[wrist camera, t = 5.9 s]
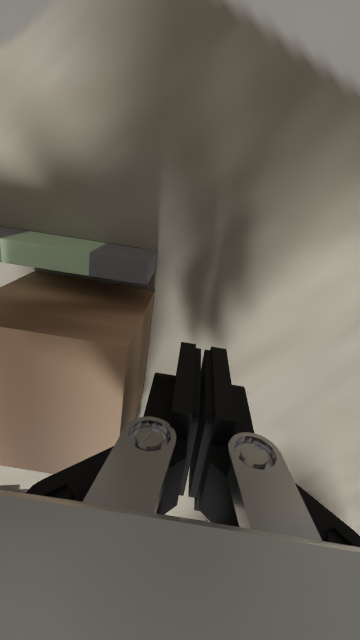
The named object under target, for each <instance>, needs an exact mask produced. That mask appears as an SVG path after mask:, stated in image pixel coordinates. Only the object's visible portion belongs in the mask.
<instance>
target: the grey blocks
mask: <svg viewBox="0 0 360 640" xmlns="http://www.w3.org/2000/svg"><path fill="white" fill-rule="evenodd" d="M157 253H158V251H154V250H148V249H141V248H135V247H129V246H122V245H116V244H109V243H103V242H97V241H90V240H84V239H77V238H71V237H65V236H58V235H52V234H45V233H39V232H33V231H26V230H20V229H13V228H7V227H1V226H0V262H4V263H10V264H16V265H23V266H29V267H35V268H42V269H48V270H54V271H61V272H67V273H74V274H80V275H86V276H93V277H99V278H105V279H112V280H118V281H124V282H131V283H137V284H144V285H147V284H148V283H149V281H150V279H151V278H152V276H153V274H154V273H155V270H156V261H157ZM139 411H140V405H139V407H138V410H137V414H136V417H135V419H136V418H139Z"/></svg>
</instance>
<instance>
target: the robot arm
mask: <svg viewBox="0 0 360 640" xmlns="http://www.w3.org/2000/svg"><path fill="white" fill-rule="evenodd" d="M189 466H190V473H189V497H194V498H195V506H194V510H197V511H201V512H202V513H203V514H204V515H205V516H206V518H207V519H208V522H205V521H199V520H193V519H187V518H181V517H175V516H169V515H164V514H165V513H167V512H168V511H170V510H171V509H172V508H174V507H175V506H176V505H177V501H178V496H179V495H181V496H183V495H184V490H185V486H186V481H187V476H188V471H189ZM0 640H360V536H359V535H358V534H357V533H356V532H355V531H354V530H353V529H351V528H350V527H349V526H348V525H346V524H345V523H344V522H343V521H341V520H340V519H339V518H338V517H336V516H335V515H334V514H333V513H331V512H330V511H329V510H328V509H327V508H325V507H324V506H323V505H322V504H320V503H319V502H318V501H317V500H315V499H314V498H313V497H312V496H310V495H309V494H308V493H307V492H306V491H304V490H303V489H302V488H301V487H299V486H298V485H297V484H296V483H295V482H294V480H293V478H292V476H291V474H290V472H289V470H288V468H287V465H286V463H285V461H284V459H283V457H282V455H281V453H280V451H279V450H278V448H277V447H276V446H275V445H274V444H273V443H272V442H271V441H270V440H268V439H266V438H265V437H263V436H261V435H258V434H255V433H254V430H253V425H252V421H251V416H250V411H249V406H248V402H247V397H246V392H245V388H244V387H242V386H236V385H231V378H230V372H229V365H228V358H227V351H226V349H222V348H216V347H211V349H210V350H205V352H204V357H203V362H202V367H201V349H198V348H196V344H191V343H184V342H181V348H180V354H179V360H178V366H177V372H176V376H174V375H167V374H161V373H155V375H154V379H153V383H152V386H151V390H150V394H149V398H148V402H147V405H146V409H145V413H144V417H140V418H136V419H134V420H132V421H131V422H129V423H128V424H127V425H126V426H125V428H124V429H123V431H122V433H121V435H120V436H119V438H118V440H117V442H116V443H115V445H114V446H113V447H110V448H108V449H106V450H104V451H102V452H100V453H98V454H96V455H94V456H91V457H89V458H87V459H85V460H83V461H81V462H79V463H77V464H74V465H72V466H70V467H68V468H66V469H64V470H62V471H60V472H58V473H55V474H53V475H51V476H49V477H47V478H45V479H43V480H41V481H39V482H38V483H36V484H35V485H33V486H32V487H31V488H30V489H20V485H0Z"/></svg>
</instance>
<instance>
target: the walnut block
mask: <svg viewBox="0 0 360 640" xmlns="http://www.w3.org/2000/svg"><path fill="white" fill-rule="evenodd" d="M154 293H155V291H154V290H147V289H141V288H135V287H128V286H122V285H116V284H109V283H103V282H97V281H90V280H84V279H78V278H71V277H65V276H59V275H53V274H46V273H40V272H32V273H30V274H28V275H26V276H23V277H21V278H19V279H17V280H15V281H13V282H11V283H9V284H7V285H4V286H2V287H0V465H2V466H8V467H14V468H20V469H27V470H33V471H39V472H45V473H51V474H55V473H58V472H60V471H62V470H64V469H66V468H68V467H70V466H72V465H74V464H77V463H79V462H81V461H83V460H85V459H87V458H89V457H91V456H94V455H96V454H98V453H100V452H102V451H104V450H106V449H108V448H110V447H113V446H114V445H115V443H116V442H117V440H118V438H119V436H120V435H121V433H122V431H123V429H124V428H125V426H126V425H127V424H128V423H129V422H131V421H132V420H134V419H135V417H136V414H137V410H138V407H139V404H140V400H141V397H142V394H143V388H144V379H145V371H146V362H147V353H148V345H149V336H150V328H151V319H152V311H153V302H154Z"/></svg>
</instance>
